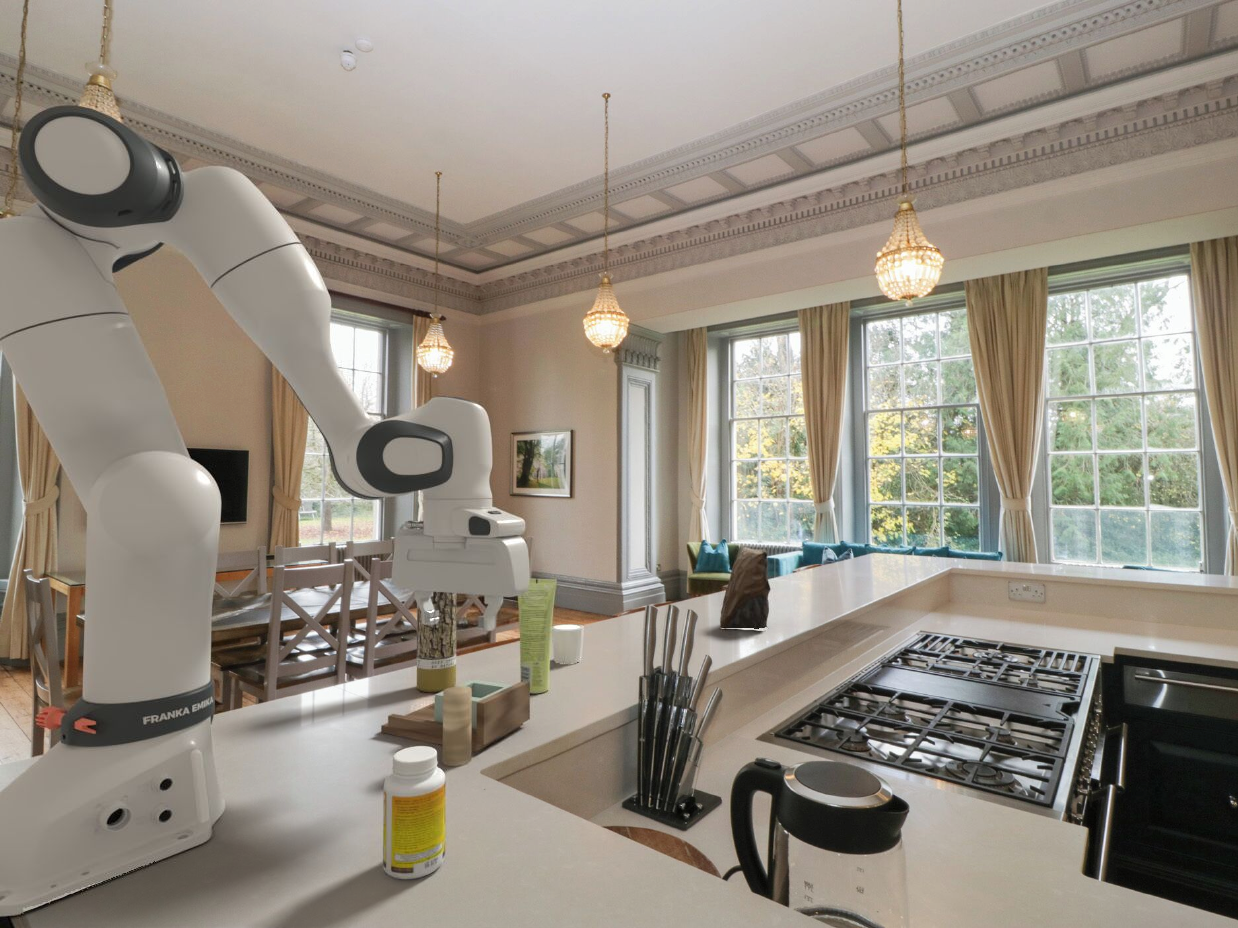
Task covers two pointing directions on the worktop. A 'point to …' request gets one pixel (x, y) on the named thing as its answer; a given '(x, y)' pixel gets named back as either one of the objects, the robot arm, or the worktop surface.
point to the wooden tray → (492, 718)
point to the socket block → (478, 693)
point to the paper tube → (437, 646)
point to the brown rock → (747, 592)
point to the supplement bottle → (414, 814)
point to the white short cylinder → (567, 643)
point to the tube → (536, 632)
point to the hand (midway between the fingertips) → (457, 627)
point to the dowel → (457, 725)
